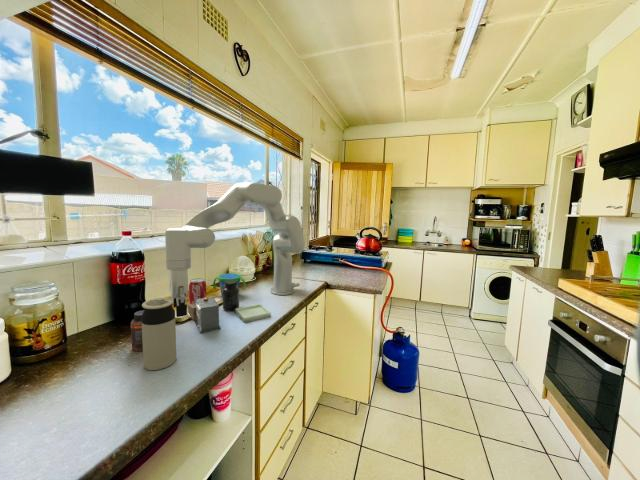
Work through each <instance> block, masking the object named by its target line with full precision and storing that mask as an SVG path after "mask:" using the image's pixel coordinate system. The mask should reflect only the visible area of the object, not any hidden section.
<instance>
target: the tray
mask: <svg viewBox="0 0 640 480" xmlns="http://www.w3.org/2000/svg"><path fill="white" fill-rule="evenodd" d="M235 314H236V315H237V316H238V318H239V319H240V320H241V321H242V322H243V323H249V322H253V321H259V320H262V319H267V317H268V318H271V317H272V316H271V315H272V314H271V312H270V310H268V309H267V308H266V307H265V306H264V305H263V304H262V303H258V304H252V305H247V306H241V307H240V306H239V308H236V310H235Z"/></svg>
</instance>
